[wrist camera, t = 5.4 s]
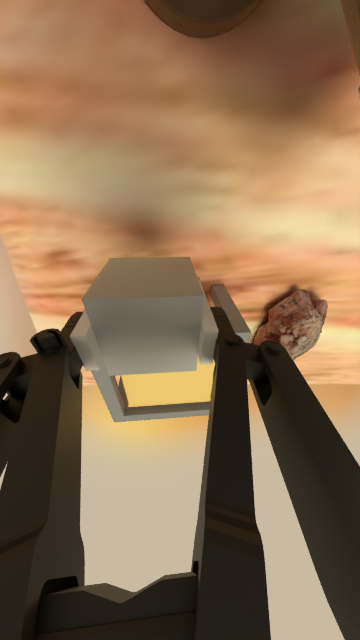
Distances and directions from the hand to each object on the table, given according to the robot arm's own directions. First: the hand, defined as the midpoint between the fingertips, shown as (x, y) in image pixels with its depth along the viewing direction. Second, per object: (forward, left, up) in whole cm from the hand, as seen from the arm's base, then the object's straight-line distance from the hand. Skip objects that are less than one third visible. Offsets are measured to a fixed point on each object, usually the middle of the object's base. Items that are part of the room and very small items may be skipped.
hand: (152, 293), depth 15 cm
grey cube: (0, 0, 0) cm, 1 cm away
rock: (+15, +24, -15) cm, 32 cm away
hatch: (+17, +1, -4) cm, 17 cm away
